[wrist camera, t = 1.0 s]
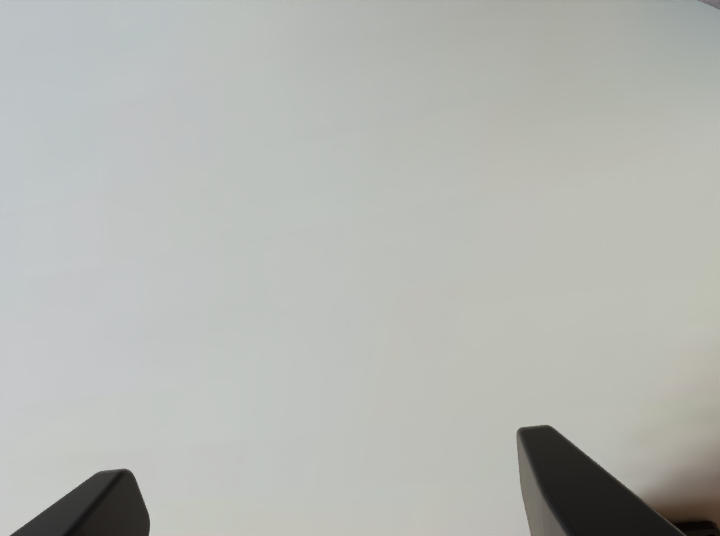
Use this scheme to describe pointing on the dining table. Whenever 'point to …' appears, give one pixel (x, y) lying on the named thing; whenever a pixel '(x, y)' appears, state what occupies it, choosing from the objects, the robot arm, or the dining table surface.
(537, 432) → the robot arm
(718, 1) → the stone block
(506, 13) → the dining table surface
